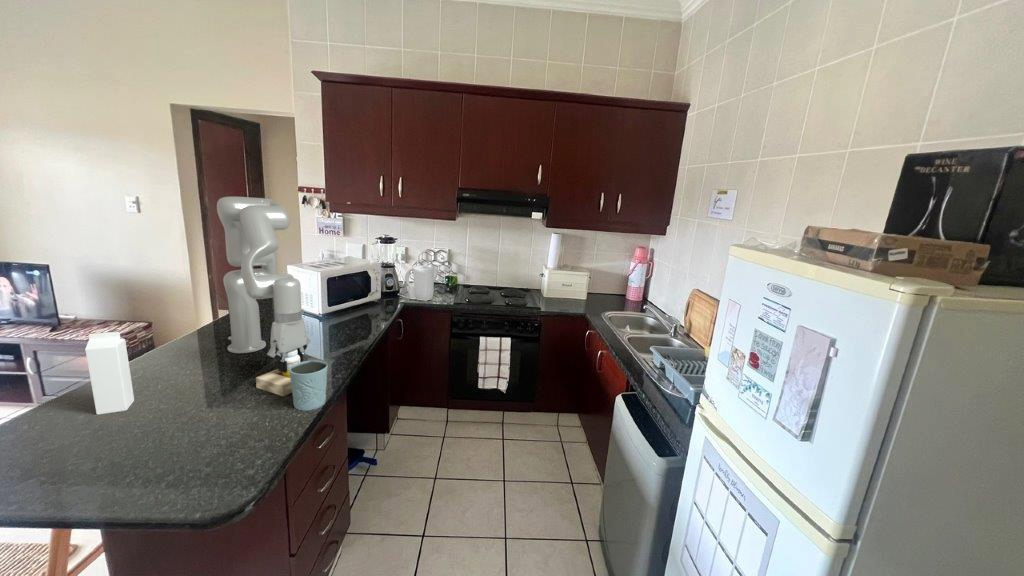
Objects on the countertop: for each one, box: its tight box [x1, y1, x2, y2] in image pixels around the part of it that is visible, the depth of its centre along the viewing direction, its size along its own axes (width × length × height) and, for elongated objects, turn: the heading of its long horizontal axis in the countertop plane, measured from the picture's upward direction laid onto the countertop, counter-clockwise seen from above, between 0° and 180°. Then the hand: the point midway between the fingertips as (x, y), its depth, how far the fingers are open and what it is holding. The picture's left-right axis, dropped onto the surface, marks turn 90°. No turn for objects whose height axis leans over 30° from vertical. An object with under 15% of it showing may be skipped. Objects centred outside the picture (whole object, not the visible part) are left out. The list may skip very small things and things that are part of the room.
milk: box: [84, 331, 135, 415], centre depth 103 cm, size 6×6×22 cm
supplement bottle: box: [282, 349, 300, 378], centre depth 125 cm, size 5×5×10 cm
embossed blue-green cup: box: [289, 359, 329, 412], centre depth 114 cm, size 10×10×12 cm
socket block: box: [255, 360, 305, 397], centre depth 126 cm, size 12×16×4 cm
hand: (291, 367), depth 126 cm, fingers closed on supplement bottle, 5 cm apart
